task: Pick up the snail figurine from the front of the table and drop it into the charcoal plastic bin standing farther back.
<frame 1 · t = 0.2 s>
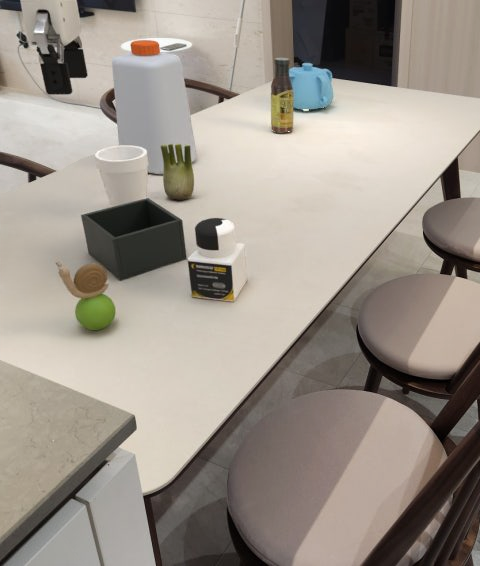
hand: (68, 85, 89), 32 cm above the table, tool pointing down, fingers open, 9 cm apart
sauce bottle: (282, 131, 181), on the table
snail figurine: (95, 329, 94), on the table
foam cup: (131, 216, 128), on the table
medicine bottle: (220, 290, 105), on the table
fennel bulb: (180, 199, 136), on the table
bin: (137, 256, 113), on the table
plastic bottle: (160, 164, 154), on the table
decorative pot: (307, 107, 204), on the table
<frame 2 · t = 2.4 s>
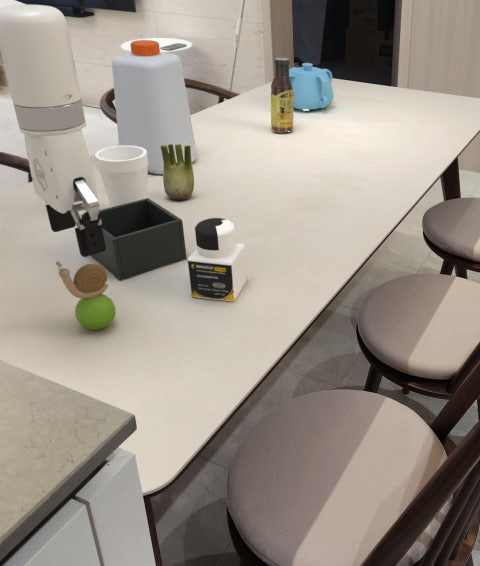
hand: (78, 240, 86), 14 cm above the table, tool pointing down, fingers open, 9 cm apart
nothing on the table moved.
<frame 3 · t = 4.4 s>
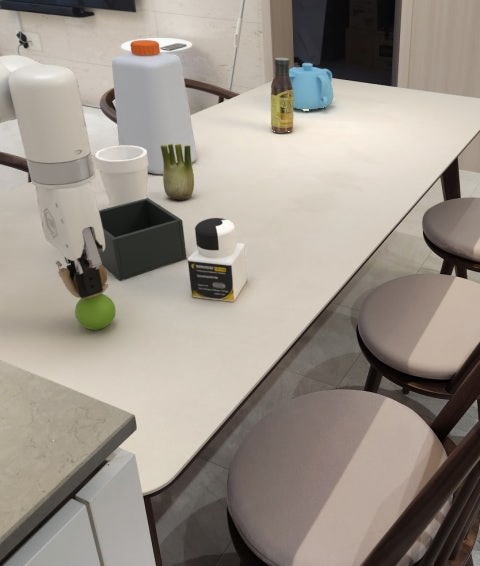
hand: (87, 290, 90), 7 cm above the table, tool pointing down, fingers closed on snail figurine
snail figurine: (95, 329, 94), on the table, touching gripper
everything else where it was.
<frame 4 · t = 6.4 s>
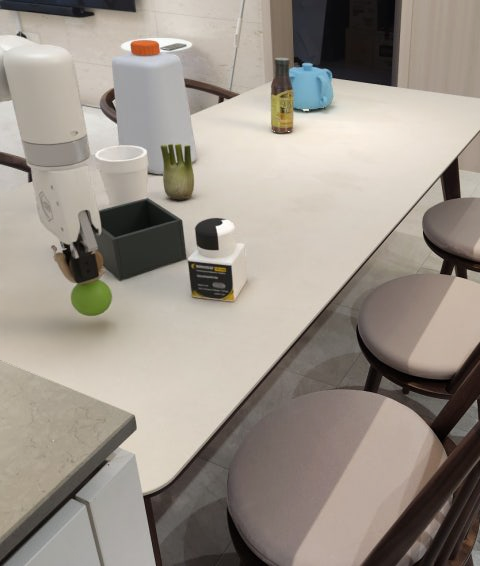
hand: (83, 275, 89), 9 cm above the table, tool pointing down, fingers closed on snail figurine
snail figurine: (91, 315, 93), point 2 cm above the table, touching gripper
everything else where it was.
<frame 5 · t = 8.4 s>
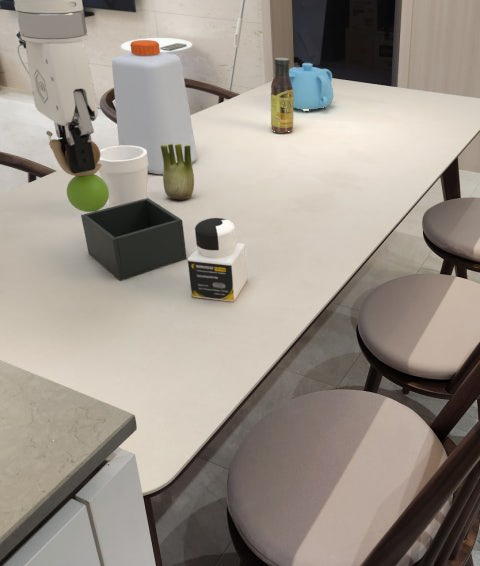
hand: (79, 167, 87), 23 cm above the table, tool pointing down, fingers closed on snail figurine
snail figurine: (88, 212, 90), point 16 cm above the table, touching gripper
everything else where it was.
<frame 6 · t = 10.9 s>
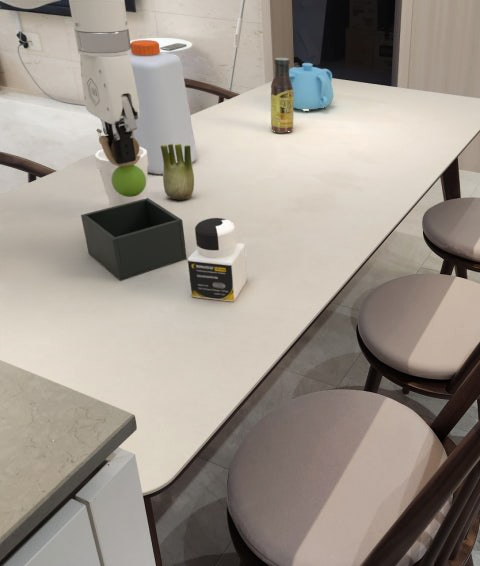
hand: (122, 159, 104), 18 cm above the table, tool pointing down, fingers closed on snail figurine
snail figurine: (128, 197, 107), point 11 cm above the table, touching gripper
everything else where it was.
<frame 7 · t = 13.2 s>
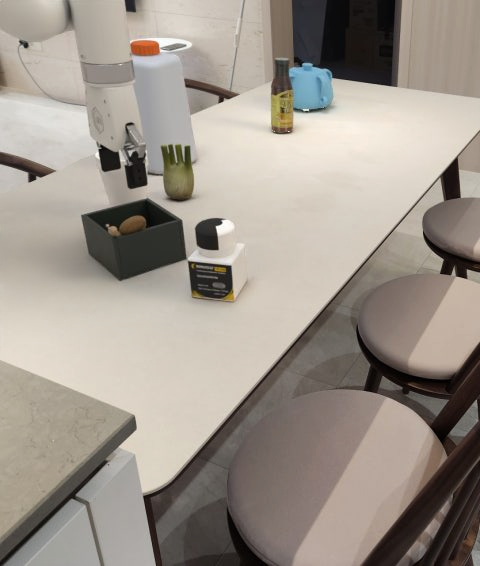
hand: (124, 178, 106), 15 cm above the table, tool pointing down, fingers open, 9 cm apart
snail figurine: (135, 249, 112), point 2 cm above the table, touching bin
everything else where it was.
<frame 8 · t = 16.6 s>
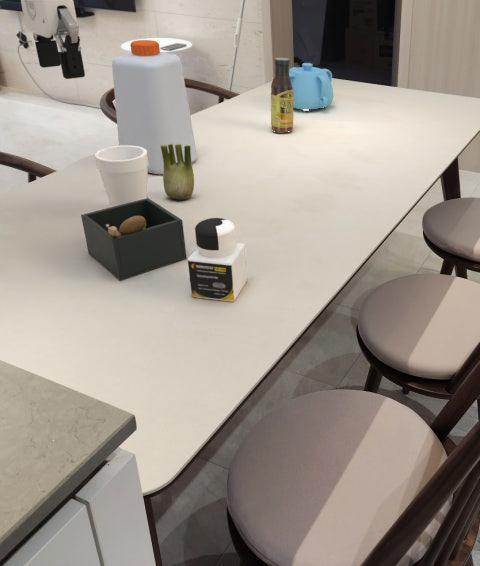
hand: (62, 71, 103), 30 cm above the table, tool pointing down, fingers open, 9 cm apart
nothing on the table moved.
at the end: snail figurine inside the target area in the bin (0.4 cm from its centre), point 1.7 cm above the bin's base; the gripper is holding nothing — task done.
